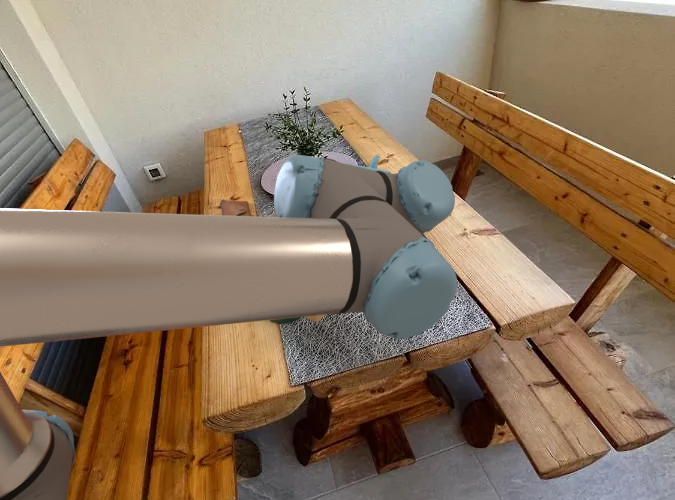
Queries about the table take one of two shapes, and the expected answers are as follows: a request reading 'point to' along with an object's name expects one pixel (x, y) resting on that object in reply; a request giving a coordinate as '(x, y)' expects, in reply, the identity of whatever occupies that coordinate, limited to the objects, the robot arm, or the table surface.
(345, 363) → the table surface
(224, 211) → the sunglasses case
